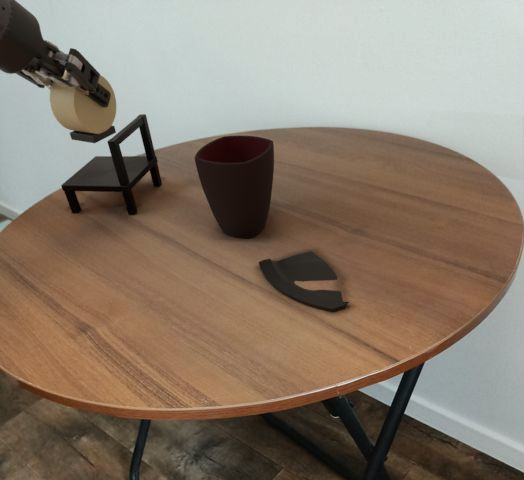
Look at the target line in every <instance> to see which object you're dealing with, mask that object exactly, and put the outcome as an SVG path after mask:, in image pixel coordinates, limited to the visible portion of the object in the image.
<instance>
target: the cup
mask: <svg viewBox="0 0 524 480" xmlns="http://www.w3.org/2000/svg"><path fill="white" fill-rule="evenodd" d="M194 163H195V166H196V171H197V172H196V173H197V175H198V178H199V182H200V185H201V187H202V190H203V193H204V196H205V199H206V200H207V204H208V206H209V208H210V211H211V213H212V215H213V217H214V219H215V221H216V223H217V224H218V227H219V228H220V230H221V232H222V233H223V234H225V235H226V236H229V237H232V238H233V237H234V238H238V239H252V238H254V237H256V236H257V235H258V234H260V233H261V232H262V231H263V230H264V229H265V227H266V225H267V221H268V217H269V213H270V208H271V202H272V201H271V200H272V192H273V191H272V190H273V184H274V183H273V182H274V173H275V171H274V170H275V145H274V141H273V140H272V139H269V138H265V137H262V136H253V135H224V136H221V137H218V138H216V139H214V140H212V141H210V142H208V143H207V144H205V145H203V146H201V148H199V150H198V151H197V152H196V153H195V155H194Z"/></svg>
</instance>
